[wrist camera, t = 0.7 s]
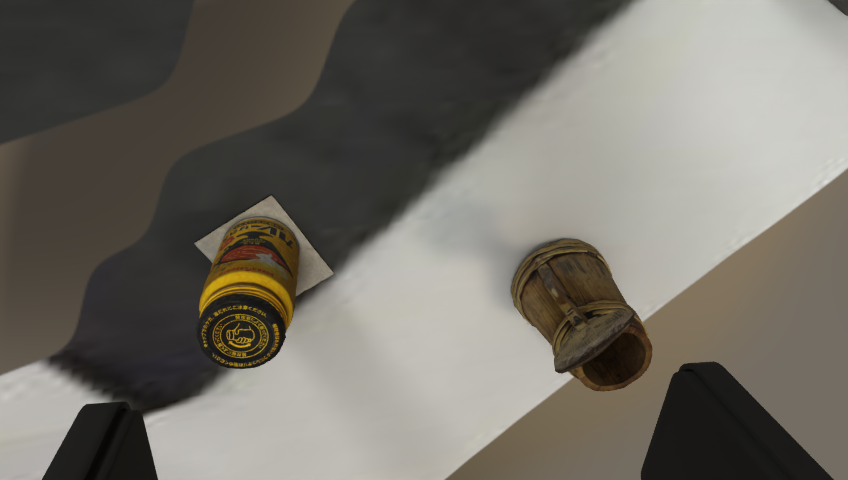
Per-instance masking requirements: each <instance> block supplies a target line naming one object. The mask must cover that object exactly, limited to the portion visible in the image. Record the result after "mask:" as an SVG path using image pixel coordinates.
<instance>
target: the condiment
mask: <svg viewBox="0 0 848 480" xmlns="http://www.w3.org/2000/svg"><path fill="white" fill-rule="evenodd" d="M194 244H195V245H196V246H197V247H198V248H199V249H200V250H201V251H202V252H203V253H204V254H205V255H206V256H207V257H208V259H209V260H210V261H211V262H212V263H213V264H212V267H211V271H210V274H209V275H208V278H207V279H206V282H205V284H204V288H203V292H202V294H201V296H200V302H199V312H200V318H199V321H198V323H197V328H196V329H197V334H196V335H197V338H198V342H199V344H200V347H201V349H202V351H203V353H204V354H205V355H206V356H208V357H209V358H210V359H211V360H212V361H213V362H215V363H217V364H219V365H220V366H223V367H227V368H235V369H245V368H255V367H258V366H260V365H263V364H265V363H266V362H268V361H270V360H271V359H272V358H274V357H275V356H276V355H277V354H278V352H279V351H280V349H281V347H282V345H283V342H284V340H285V338H286V336H285V333H286V330H287V328H288V327H289V325H290V323H291V320H292V317H293V311H294V308H295V298H296V296H297V295H299V294H301V293H302V292H303V291H305V290H307V289H309V288H311V287H313V286H314V285H316V284H317V283H319V282H320V281H322V280H324V279H326V278H328V277H330V276H331V275H333V274H334V273H333V272H332V271H331V269H330V268H329V267H328V266H327V264H326V263H325V262H324V260H323V259H322V258H321V257H320V256H319V254H318V253H317V252H316V251H315V249H314V248H313V247H312V246H311V244H310V243H309V242H308V240H307V239H306V238H305V236H304V235H303V234H302V232H301V231H300V230H299V229H298V227H297V226H296V225H295V224H294V222H293V221H292V220H291V219H290V217H289V216H288V215H287V214H286V212H285V211H284V210H283V209H282V207H281V206H280V205H279V204H278V202H277V201H276V200H275V199H274V198H273V197H272V196H270V197H268V198H266V199H265V200H263V201H261V202H260V203H258V204H256V205H255V206H253V207H251V208H250V209H248V210H246V211H245V212H243V213H242V214H240V215H238V216H237V217H235V218H234V219H232V220H231V221H229V222H227V223H226V224H224V225H222V226H221V227H219V228H218V229H216V230H215V231H213V232H212V233H211V234H209V235H207V236H205V237H204V238H202V239H201V240H199V241H197V242H196V243H194Z"/></svg>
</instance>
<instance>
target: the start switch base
mask: <svg viewBox="0 0 848 480" xmlns="http://www.w3.org/2000/svg"><path fill="white" fill-rule="evenodd" d="M829 1H830V2H831V3H832V4H834V5H835V6H836V7H837V8H838V9H840V10H841V11H842V12H843V13H844V14H846V15H847V16H848V0H829Z"/></svg>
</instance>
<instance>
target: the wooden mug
mask: <svg viewBox="0 0 848 480" xmlns="http://www.w3.org/2000/svg"><path fill="white" fill-rule="evenodd" d="M511 294H512V298H513V302H514V306H515V307H516V308H517V309H518V311H519V312H520V313H521V314H522V316H523V317H524V318H525V319H526V320H527V321H528V322H529V323H530V324H531V325H532V326H534V327H536V328H537V329H538V330H539V331H540V333H541V334H542V335H543V336H544V337H545V338H546V340H547V341H548V342H549V343H550V344H551V345H552V350H553V355H554V356H555V358H554V365H555V371H556V372H558V373H565V372H567V371H568V372H569V373H570V374H571V375H572V376H574V377H575V378H577V379H579V380H581V382H582V383H583V384H584V385H585V386H586V387H588V388H590V389H592V390H595V391H611V390H617V389H621V388H624V387H626V386H627V385H628V384H630V383H632V382H633V381H635V380H636V379H638V378H639V377H640V376H642V374H643V373H644V372H645V371H646V370H647V368H648V366H649V364H650V362H651V357H652V345H651V343H650V341H649V339H648V334H647V331H646V328H645V326H644V325H643V323H642V321H641V320H640V318H639V316H638V315H637V313H636V312H635V311H634V310H633V309H632V308H631V307H630V306H629V305H627V303H626V301H625V299H624V298H623V296H622V294H621V292H620V291H619V289H618V287H617V285H616V284H615V282H614V280H613V278H612V274H611V271H610V269H609V266H608V264H607V263H606V261H605V260H604V258H603V257H602V256H601V254H600V253H599V252H598V251H597V250H596V249H595V248H594V247H592V246H591V245H589V244H587V243H584V242H582V241H579V240H570V239H563V240H559V241H556V242H552V243H549V244H548V245H546V246H544V247H543V248H541V249H539V250H538V251H536V252H534V253H533V254H531V255H530V256H529V257H528V258H527V259H526V260H525V261H524V262H523V264H522V265H521V266H520V268H519V269H518V271H517V274H516V276H515V278H514V280H513V284H512V289H511Z"/></svg>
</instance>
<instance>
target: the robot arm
mask: <svg viewBox="0 0 848 480" xmlns="http://www.w3.org/2000/svg"><path fill="white" fill-rule="evenodd" d="M42 480H158V478H157V474H156V470H155V465H154V461H153V457H152V453H151V449H150V445H149V441H148V436H147V432H146V428H145V424H144V420H143V416H142V413H141V411H140V410H131V409H130V406H129V404H128V403H127V402H111V403H96V404H86V405H85V406H83V407H82V409H81V410H80V412H79V413H78V415H77V417H76V419H75V420H74V422H73V424H72V426H71V428H70V430H69V431H68V433H67V435H66V437H65V439H64V440H63V442H62V444H61V446H60V448H59V449H58V451H57V453H56V455H55V457H54V459H53V460H52V462H51V464H50V466H49V468H48V469H47V471H46V473H45V475H44V477H43V479H42ZM641 480H834V479H833V478H831V476H830V475H829V474H827V472H826V471H825V470H824V469H823V468H822V467H821V466H820V465H819V464H818V463H817V462H816V461H815V460H814V459H813V458H812V457H811V456H810V455H809V454H808V453H807V452H806V451H805V450H804V449H803V448H802V447H801V446H800V445H799V444H798V443H797V442H796V441H795V440H794V439H793V438H792V437H791V435H790V434H788V433H787V431H785V429H784V428H783V427H782V426H781V425H780V424H779V423H778V422H777V421H776V420H775V419H774V418H773V417H772V416H771V415H770V414H769V413H768V412H767V411H766V410H765V409H764V408H763V407H762V406H761V405H760V404H759V403H758V402H757V401H756V400H755V399H754V398H753V397H752V396H751V395H750V394H749V393H748V392H747V391H746V390H745V388H744V387H743V386H742V385H741V384H739V382H738V381H737V380H736V379H735V378H734V377H733V376H732V375H731V374H730V373H729V372H728V371H727V370H726V369H725V368H724V367H723V366H722V365H720V364H719V363H717V362H700V363H688V364H683V365H682V366H681V367H680V369H679V371H678V372H676V373H675V374H673V377H672V379H671V382H670V385H669V388H668V391H667V394H666V397H665V400H664V403H663V406H662V409H661V412H660V415H659V418H658V421H657V424H656V427H655V430H654V433H653V436H652V440H651V443H650V446H649V449H648V452H647V455H646V458H645V461H644V464H643V467H642V471H641Z"/></svg>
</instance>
